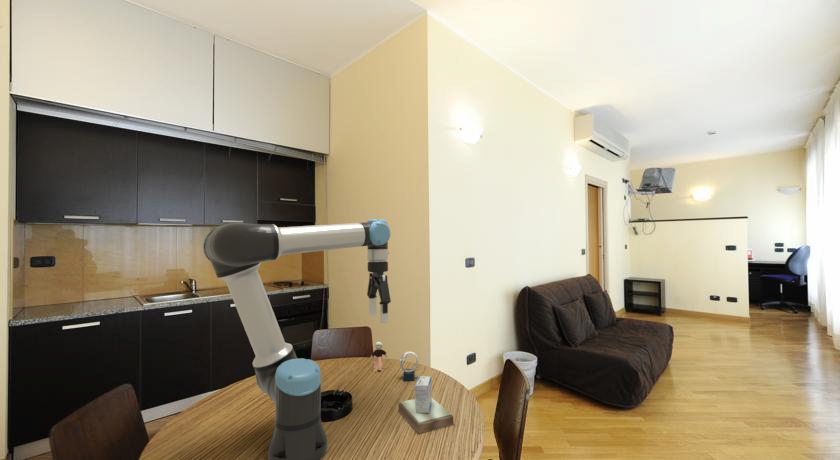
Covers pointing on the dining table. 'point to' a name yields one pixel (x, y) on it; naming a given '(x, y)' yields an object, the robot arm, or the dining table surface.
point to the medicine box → (423, 394)
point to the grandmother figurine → (378, 357)
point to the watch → (408, 373)
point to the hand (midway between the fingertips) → (378, 318)
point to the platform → (425, 416)
